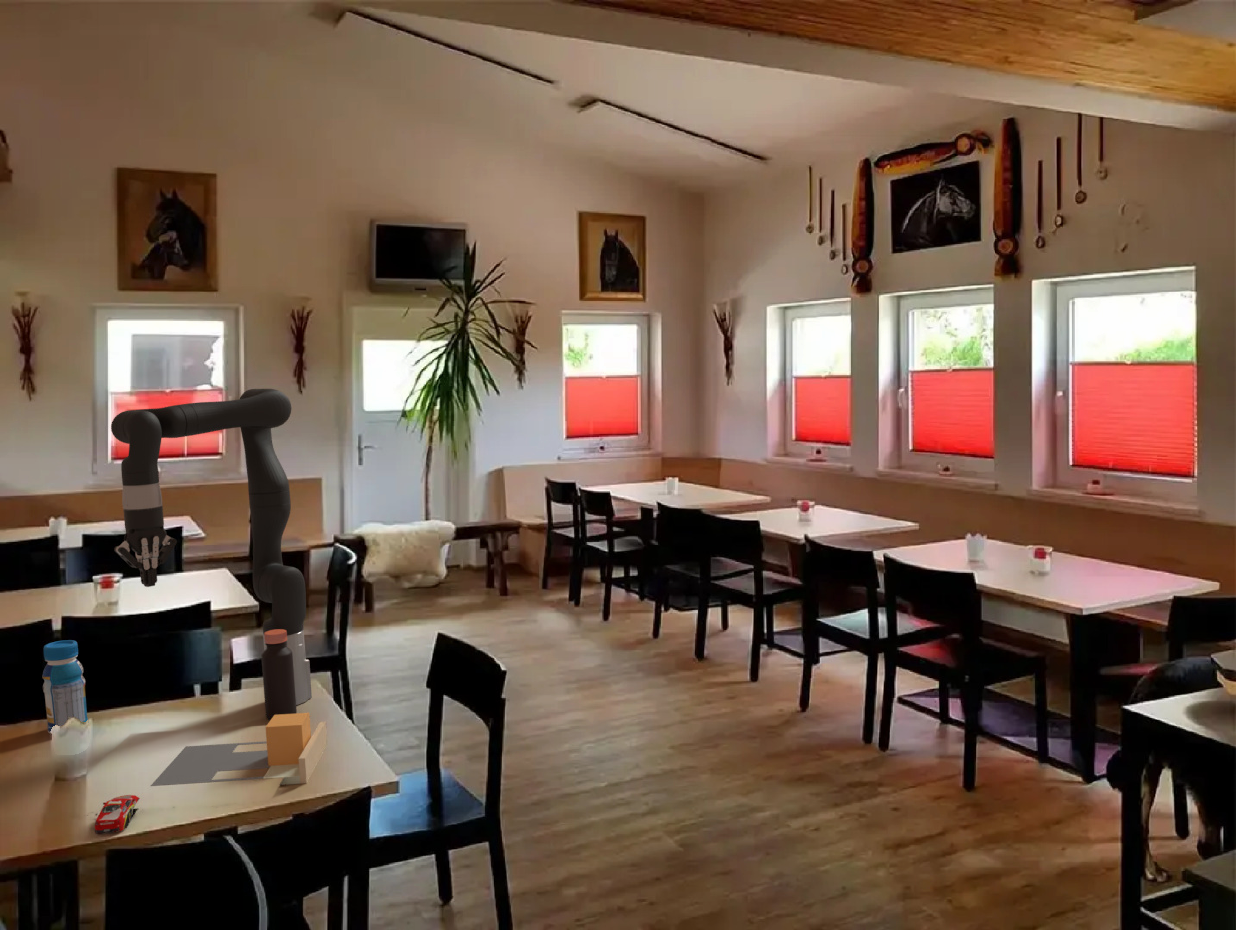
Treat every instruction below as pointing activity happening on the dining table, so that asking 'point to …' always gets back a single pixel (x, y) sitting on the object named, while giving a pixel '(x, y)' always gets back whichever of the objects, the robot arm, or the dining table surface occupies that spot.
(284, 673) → the vinegar
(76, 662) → the beverage bottle
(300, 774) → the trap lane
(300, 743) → the orange block
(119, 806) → the race car
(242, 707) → the dining table surface
